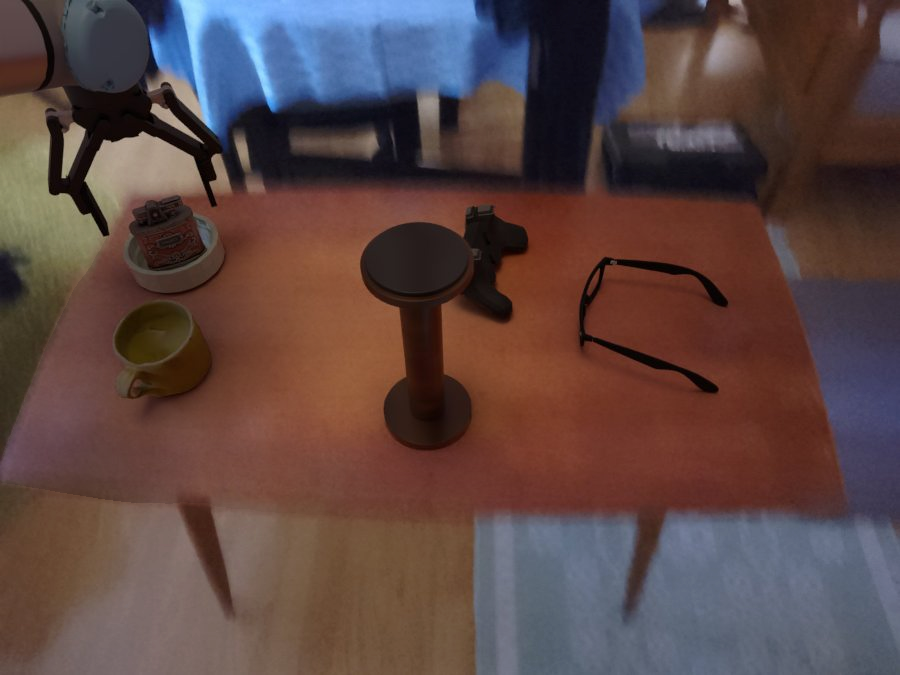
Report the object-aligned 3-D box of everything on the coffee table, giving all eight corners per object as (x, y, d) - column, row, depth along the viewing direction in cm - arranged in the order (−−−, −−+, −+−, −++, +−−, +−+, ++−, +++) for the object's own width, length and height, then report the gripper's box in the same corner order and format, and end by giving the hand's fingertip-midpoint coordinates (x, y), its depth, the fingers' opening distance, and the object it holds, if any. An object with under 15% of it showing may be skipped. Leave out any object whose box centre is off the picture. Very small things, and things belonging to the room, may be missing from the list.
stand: (402, 463, 74) (382, 311, 55) (372, 394, 80) (344, 236, 61) (486, 431, 76) (493, 275, 58) (450, 366, 82) (446, 206, 64)
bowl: (140, 307, 89) (128, 285, 86) (128, 248, 97) (117, 226, 94) (234, 279, 93) (226, 257, 89) (216, 224, 100) (208, 202, 97)
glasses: (591, 275, 93) (595, 247, 89) (727, 300, 89) (737, 272, 85) (564, 366, 83) (567, 340, 79) (716, 400, 79) (727, 373, 75)
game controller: (490, 248, 99) (458, 195, 93) (533, 237, 96) (503, 182, 90) (467, 331, 89) (429, 278, 83) (514, 322, 86) (478, 266, 80)
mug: (164, 311, 86) (145, 276, 77) (232, 352, 86) (221, 323, 77) (97, 389, 81) (68, 362, 72) (169, 434, 81) (149, 412, 72)
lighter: (152, 278, 92) (123, 220, 84) (146, 262, 94) (118, 205, 86) (210, 257, 94) (188, 200, 87) (204, 243, 96) (181, 186, 89)
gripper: (202, 19, 77) (248, 173, 93) (-38, 68, 71) (56, 224, 87) (215, 49, 73) (261, 205, 89) (-40, 104, 67) (60, 261, 83)
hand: (160, 215), depth 88 cm, fingers open, 13 cm apart
